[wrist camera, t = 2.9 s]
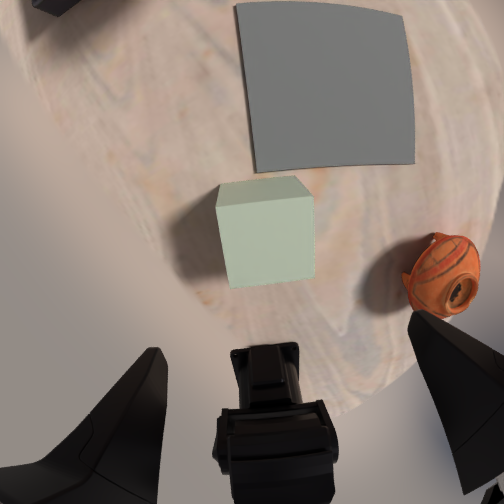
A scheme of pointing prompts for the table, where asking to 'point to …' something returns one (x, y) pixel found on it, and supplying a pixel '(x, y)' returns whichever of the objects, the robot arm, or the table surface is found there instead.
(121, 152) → the table surface
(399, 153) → the charcoal mat
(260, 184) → the sage block
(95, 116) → the table surface
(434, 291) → the pot
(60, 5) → the calculator
